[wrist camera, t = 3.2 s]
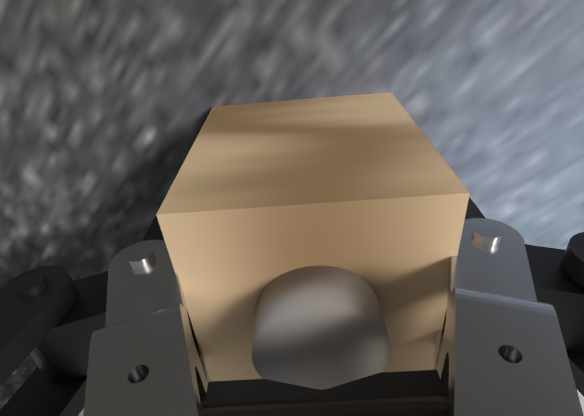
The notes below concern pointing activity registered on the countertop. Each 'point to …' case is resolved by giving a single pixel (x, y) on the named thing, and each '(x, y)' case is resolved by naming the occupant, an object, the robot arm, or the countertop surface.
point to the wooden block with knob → (314, 240)
